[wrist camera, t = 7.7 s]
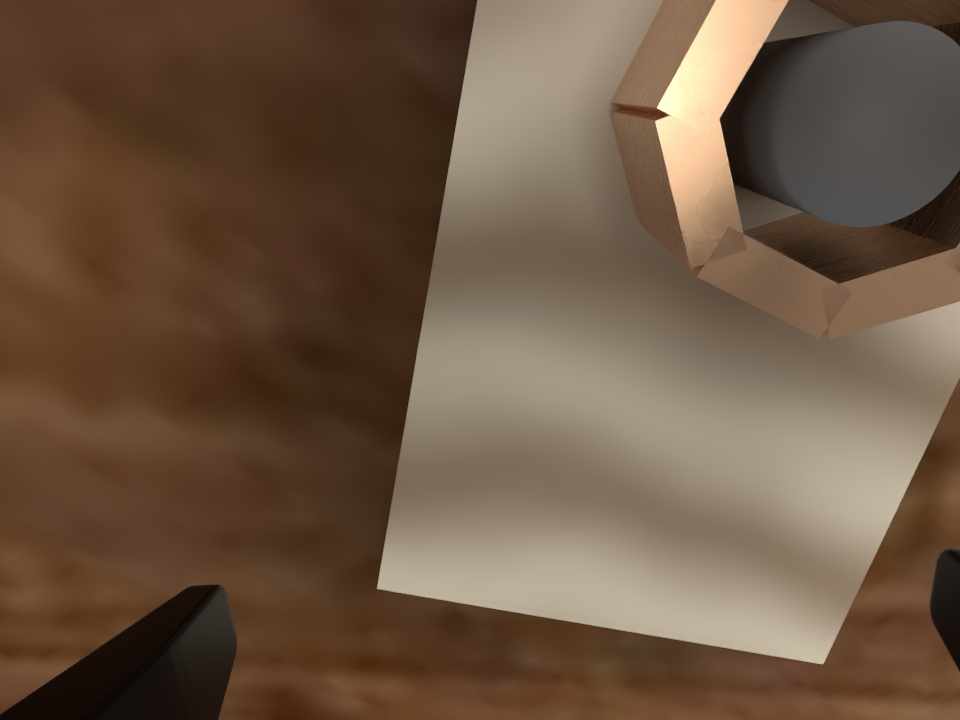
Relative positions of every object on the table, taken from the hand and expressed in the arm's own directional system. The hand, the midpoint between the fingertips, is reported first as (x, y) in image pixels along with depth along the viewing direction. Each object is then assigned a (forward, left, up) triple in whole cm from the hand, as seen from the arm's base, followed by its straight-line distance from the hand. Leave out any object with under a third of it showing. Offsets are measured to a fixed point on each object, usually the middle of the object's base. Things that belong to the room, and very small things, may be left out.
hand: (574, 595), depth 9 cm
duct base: (+1, -4, -12) cm, 12 cm away
